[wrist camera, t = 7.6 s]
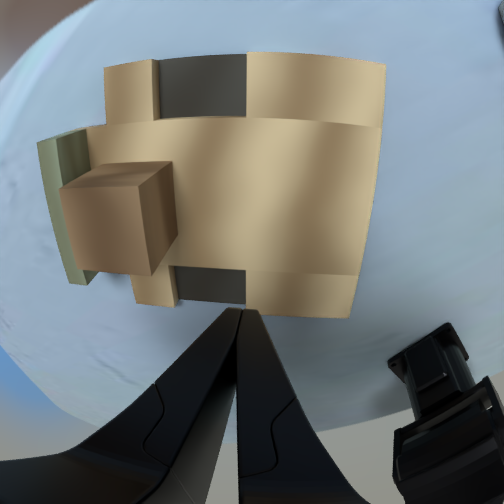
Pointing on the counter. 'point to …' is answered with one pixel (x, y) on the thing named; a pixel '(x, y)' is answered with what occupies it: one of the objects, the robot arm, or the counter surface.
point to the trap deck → (242, 174)
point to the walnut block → (121, 216)
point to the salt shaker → (502, 10)
